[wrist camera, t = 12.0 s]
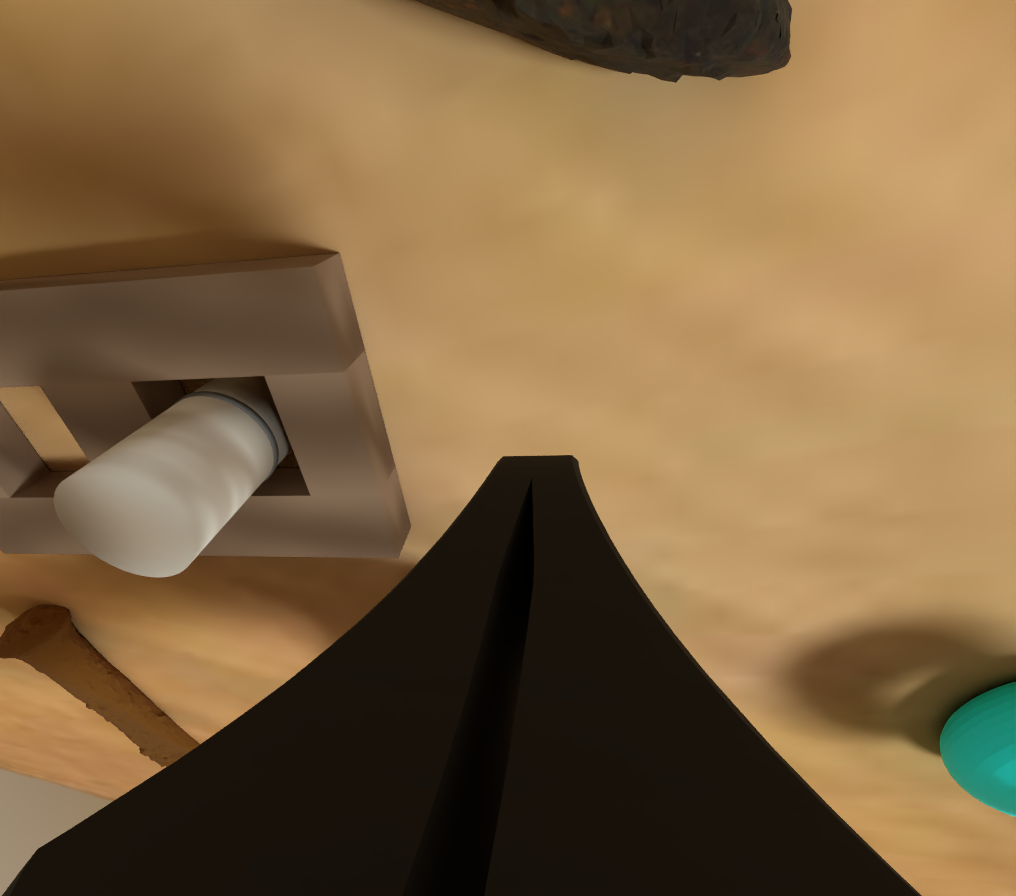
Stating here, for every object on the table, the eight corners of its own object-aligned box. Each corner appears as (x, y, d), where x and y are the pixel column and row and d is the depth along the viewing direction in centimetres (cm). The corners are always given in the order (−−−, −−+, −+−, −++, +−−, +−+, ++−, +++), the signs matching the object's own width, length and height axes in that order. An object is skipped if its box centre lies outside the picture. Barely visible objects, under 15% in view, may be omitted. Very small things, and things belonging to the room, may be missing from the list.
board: (411, 526, 23) (398, 558, 21) (41, 525, 25) (3, 553, 24) (339, 252, 16) (312, 266, 15) (-144, 291, 19) (-213, 307, 17)
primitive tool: (224, 759, 39) (195, 810, 36) (166, 756, 40) (134, 805, 37) (77, 595, 29) (21, 647, 26) (5, 596, 30) (-56, 646, 27)
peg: (316, 454, 21) (217, 578, 15) (230, 457, 22) (103, 578, 16) (281, 364, 19) (150, 469, 13) (187, 371, 19) (20, 475, 14)
